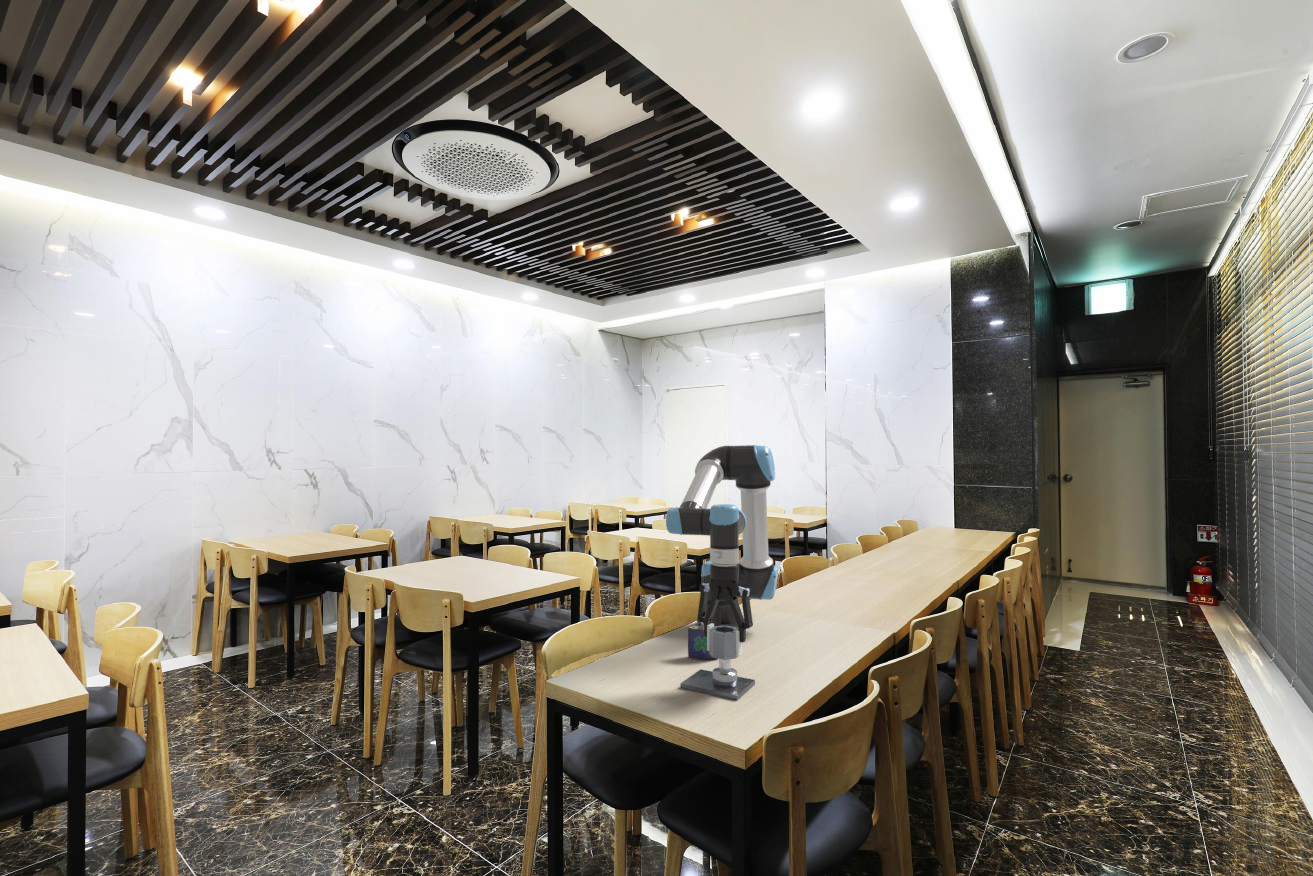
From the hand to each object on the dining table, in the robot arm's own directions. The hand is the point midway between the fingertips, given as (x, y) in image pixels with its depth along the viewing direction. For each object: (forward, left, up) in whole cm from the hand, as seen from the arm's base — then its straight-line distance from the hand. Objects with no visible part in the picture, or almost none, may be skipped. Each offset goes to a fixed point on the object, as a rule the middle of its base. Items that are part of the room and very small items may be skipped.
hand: (724, 651), depth 161 cm
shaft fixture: (0, -2, -9) cm, 10 cm away
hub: (0, 0, -1) cm, 1 cm away
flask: (-18, -15, -10) cm, 25 cm away
